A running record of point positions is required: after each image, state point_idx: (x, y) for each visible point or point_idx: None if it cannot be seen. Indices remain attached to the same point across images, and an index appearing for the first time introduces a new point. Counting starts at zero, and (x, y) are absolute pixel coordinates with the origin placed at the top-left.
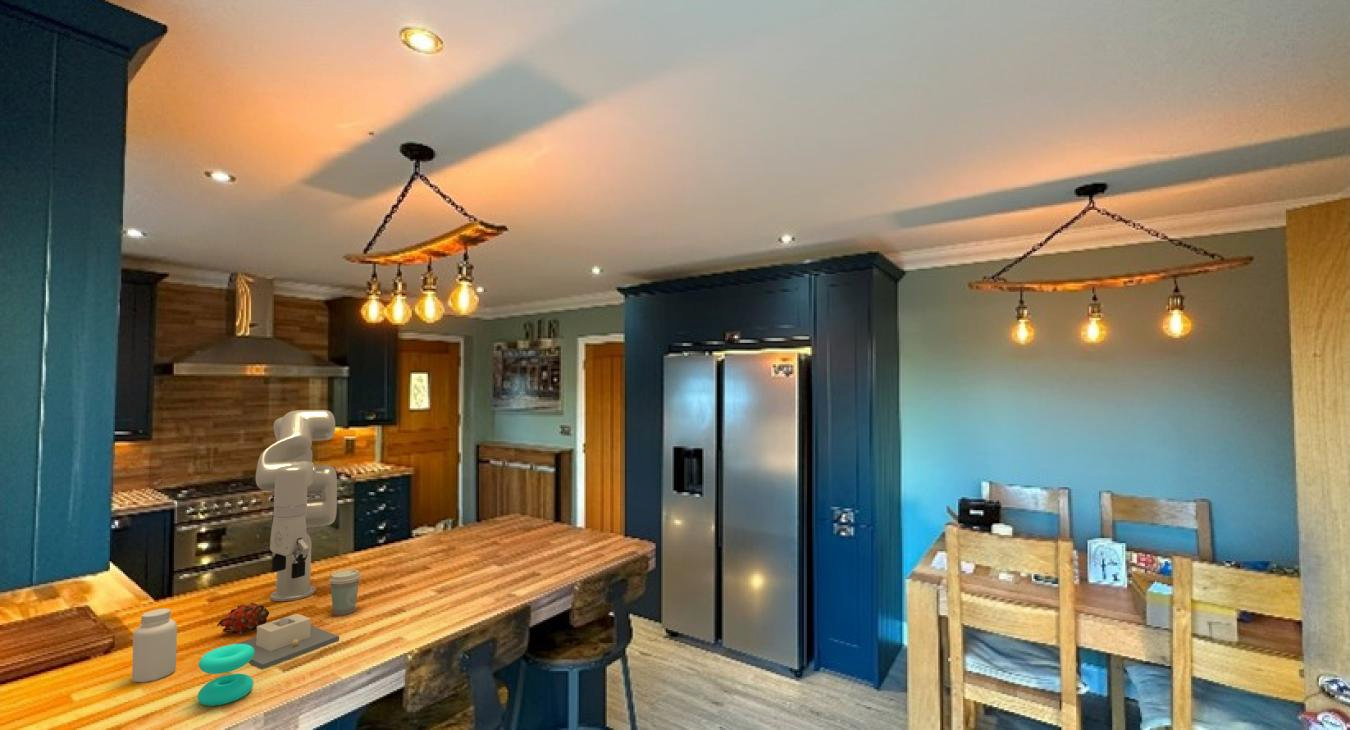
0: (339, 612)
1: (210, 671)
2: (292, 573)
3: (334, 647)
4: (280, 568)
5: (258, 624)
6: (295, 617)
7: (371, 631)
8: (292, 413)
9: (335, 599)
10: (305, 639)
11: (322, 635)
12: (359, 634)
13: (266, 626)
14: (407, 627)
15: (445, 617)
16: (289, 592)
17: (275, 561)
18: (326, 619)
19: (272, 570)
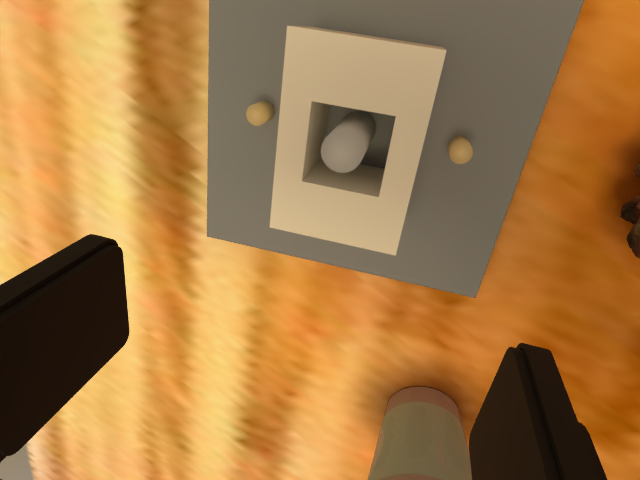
0: (408, 395)
1: None
2: (53, 257)
3: (174, 181)
4: (489, 416)
5: (632, 199)
6: (353, 216)
7: (189, 309)
8: None
9: (421, 433)
10: None
11: (264, 221)
12: (200, 283)
13: (385, 71)
14: (126, 352)
15: (104, 419)
16: None
17: (536, 473)
18: (428, 354)
19: (549, 356)
